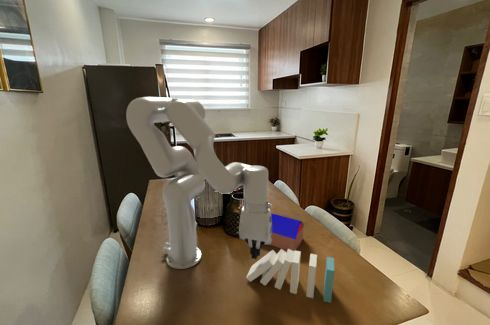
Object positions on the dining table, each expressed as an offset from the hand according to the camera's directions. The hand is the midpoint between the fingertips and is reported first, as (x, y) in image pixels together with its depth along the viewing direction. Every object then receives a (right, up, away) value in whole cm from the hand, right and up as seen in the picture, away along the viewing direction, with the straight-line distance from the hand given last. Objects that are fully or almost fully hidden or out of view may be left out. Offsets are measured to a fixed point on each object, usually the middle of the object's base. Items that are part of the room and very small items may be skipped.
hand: (255, 256), depth 78 cm
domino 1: (-1, -7, +2) cm, 7 cm away
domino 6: (+22, -9, -6) cm, 25 cm away
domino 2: (+3, -7, +1) cm, 8 cm away
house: (+10, -2, +24) cm, 26 cm away
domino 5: (+17, -9, -4) cm, 20 cm away
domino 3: (+8, -8, -1) cm, 11 cm away
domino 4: (+12, -9, -2) cm, 15 cm away
